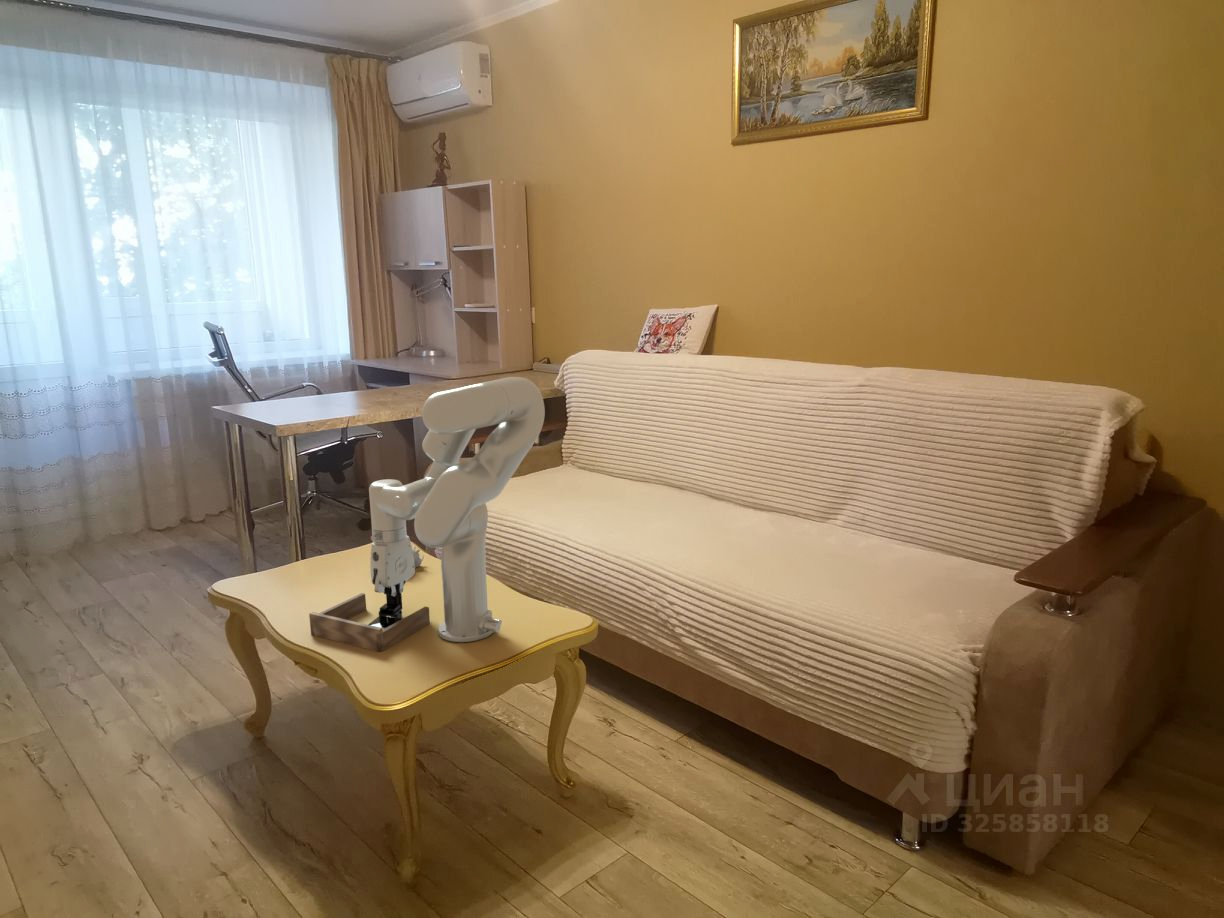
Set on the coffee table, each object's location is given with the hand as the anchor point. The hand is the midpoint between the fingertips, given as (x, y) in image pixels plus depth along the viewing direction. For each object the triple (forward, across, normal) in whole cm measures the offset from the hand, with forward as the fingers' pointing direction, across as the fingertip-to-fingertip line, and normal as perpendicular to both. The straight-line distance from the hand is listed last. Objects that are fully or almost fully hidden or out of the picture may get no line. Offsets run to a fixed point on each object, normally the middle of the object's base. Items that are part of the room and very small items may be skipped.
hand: (394, 609), depth 187 cm
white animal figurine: (+2, +25, +20) cm, 32 cm away
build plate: (+2, -3, -2) cm, 4 cm away
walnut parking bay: (+2, -7, 0) cm, 8 cm away
